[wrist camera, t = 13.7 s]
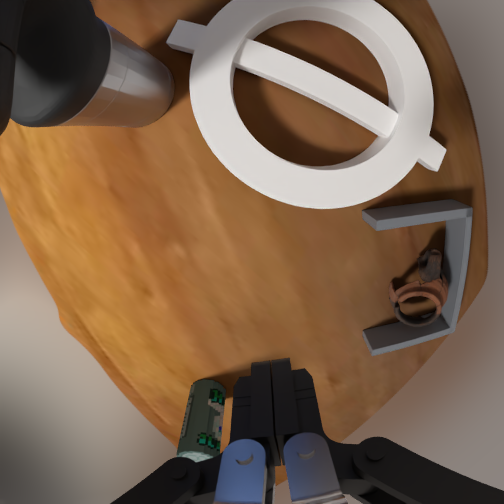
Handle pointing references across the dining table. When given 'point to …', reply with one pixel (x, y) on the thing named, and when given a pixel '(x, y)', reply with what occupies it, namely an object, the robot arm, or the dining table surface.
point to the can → (202, 421)
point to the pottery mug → (423, 289)
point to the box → (453, 269)
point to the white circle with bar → (317, 88)
